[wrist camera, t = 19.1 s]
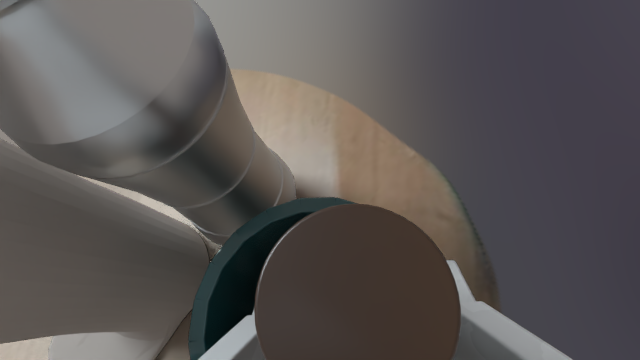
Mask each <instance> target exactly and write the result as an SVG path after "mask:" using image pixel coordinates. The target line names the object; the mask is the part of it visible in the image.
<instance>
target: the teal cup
mask: <svg viewBox="0 0 640 360" xmlns="http://www.w3.org/2000/svg"><path fill="white" fill-rule="evenodd" d="M342 204H358V203H354V202H351V201H347V200H344V199H340V198H335V197H321V198H300V199H295V200H292V201H289V202H286V203H283V204H280V205H277V206H274V207H271V208H268V209H266V210H264V211H262V212H261V213H260V214H258V215H257V216H255V217H254V218H252V219H251V220H250V221H248V222H247V223H245V224H244V225H243V226H241V227H240V228H238V229H237V230H236V232H234V233H233V234H232V235H231V236H230V237H229V239H228V240H227V241H226V242H225V244H224V245H223V246H222V247H221V249H220V250H219V251H218V252H217V254H216V255H215V256H214V257H213V258H212V260H211V261H212V262H210V263H209V265H208V268H207V270H206V272H205V275H204V277H203V279H202V282H201V284H200V286H199V289H198V291H197V293H196V295H195V299H194V302H193V309H192V316H191V323H190V330H189V338H188V341H189V343H188V345H189V352H190V360H198V359H199V358H200V357H201V356H202V355H203V354H205V353H206V352H207V351H208V350H209V349H210V348H211V347H212V346H213V345H215V344H216V343H217V342H218V341H219V340H220V339H221V338H222V337H223V336H225V335H226V334H227V333H228V332H229V331H230V330H231V329H232V328H233V327H235V326H236V325H237V324H238V323H239V322H240V321H241V320H242V319H243V318H245V317H246V316H247V315H252V313H253V310H254V305H255V293H256V288H257V282H258V279H259V276H260V273H261V270H262V267H263V265H264V263H265V261H266V258H267V257H268V255H269V253H270V252H271V250H272V248H273V247H274V245H275V244H276V243H277V241H278V240H279V239H280V238H281V236H282V235H283V234H284V233H285V232H286V231H287V230H288V229H289V228H291V227H292V226H293V225H294V224H296V223H297V222H298V221H300V220H301V219H303V218H305V217H306V216H308V215H310V214H312V213H314V212H316V211H319V210H321V209H325V208H328V207H331V206H337V205H342Z"/></svg>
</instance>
